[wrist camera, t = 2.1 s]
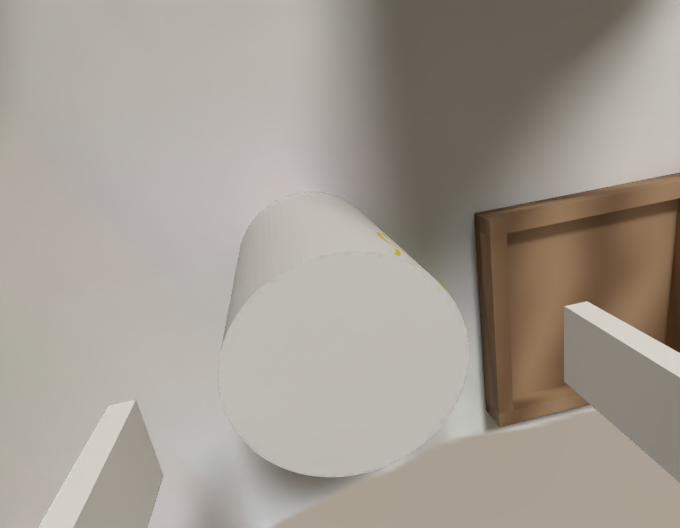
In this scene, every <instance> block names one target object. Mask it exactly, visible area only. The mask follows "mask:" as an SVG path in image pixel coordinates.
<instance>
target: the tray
mask: <svg viewBox="0 0 680 528" xmlns="http://www.w3.org/2000/svg"><path fill="white" fill-rule="evenodd" d="M475 228H476V245H477V261H478V278H479V294H480V311H481V328H482V344H483V361H484V377H485V394H486V410H487V411H488V413H489V414H490V415H491V417H492V418H493V419H494V420H495V422H496V423H497V424H498V426H499V427H501V426H505V425H509V424H512V423H516V422H520V421H524V420H528V419H532V418H536V417H540V416H544V415H548V414H552V413H556V412H560V411H564V410H568V409H572V408H576V407H580V406H584V405H588V404H589V403H588V402H587V401H586V400H585V399H584V398H582V397H581V396H580V395H579V394H578V393H577V392H576V391H574V390H573V389H572V388H571V387H570V386H569V385H568V384H566V383H565V382H564V306H567V305H572V304H577V303H581V302H586V301H588V302H589V303H591V304H593V305H595V306H597V307H598V308H600V309H602V310H604V311H605V312H607V313H609V314H611V315H613V316H614V317H616V318H618V319H620V320H622V321H623V322H625V323H627V324H629V325H631V326H632V327H634V328H636V329H638V330H640V331H641V332H643V333H645V334H647V335H648V336H650V337H652V338H654V339H656V340H657V341H659V342H661V343H663V344H665V345H666V346H668V347H670V348H672V349H674V350H675V351H677V352H679V353H680V173H677V174H672V175H666V176H661V177H656V178H651V179H646V180H641V181H636V182H631V183H626V184H621V185H616V186H611V187H606V188H601V189H596V190H591V191H586V192H581V193H576V194H571V195H566V196H561V197H556V198H551V199H545V200H540V201H535V202H530V203H525V204H520V205H515V206H510V207H505V208H500V209H495V210H490V211H485V212H480V213H475Z"/></svg>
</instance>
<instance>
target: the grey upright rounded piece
mask: <svg viewBox="0 0 680 528" xmlns="http://www.w3.org/2000/svg"><path fill="white" fill-rule="evenodd" d="M468 364H469V341H468V335H467V330H466V326H465V323H464V320H463V317H462V315H461V313H460V310H459V308H458V307H457V305H456V303H455V301H454V300H453V298H452V297H451V296H450V294H449V293H448V292H447V291H446V289H445V288H444V287H443V286H442V285H441V284H440V283H439V282H438V281H437V280H436V279H435V278H434V277H433V276H431V275H430V274H429V273H428V272H427V271H426V270H425V269H424V268H423V267H421V266H420V265H419V264H418V263H417V262H416V261H415V260H414V259H413V258H412V257H410V256H409V255H408V254H407V253H406V252H405V251H404V250H403V249H402V248H400V247H399V246H398V245H397V244H396V243H395V242H394V241H393V240H392V239H391V238H389V237H388V236H387V235H386V234H385V233H384V232H383V231H382V230H381V229H379V228H378V227H377V226H376V225H375V224H374V223H373V222H372V221H371V220H369V219H368V218H367V217H366V216H365V215H364V214H363V213H362V212H361V211H360V210H358V209H357V208H356V207H355V206H353V205H352V204H351V203H349V202H347V201H346V200H344V199H342V198H339V197H337V196H334V195H331V194H326V193H320V192H303V193H296V194H292V195H289V196H286V197H283V198H281V199H279V200H277V201H275V202H273V203H272V204H270V205H269V206H267V207H266V208H265V209H264V210H262V211H261V212H260V213H259V214H258V215H257V216H256V217H255V219H254V220H253V221H252V223H251V224H250V226H249V227H248V229H247V231H246V233H245V235H244V237H243V240H242V243H241V247H240V252H239V257H238V263H237V268H236V273H235V278H234V284H233V289H232V294H231V300H230V305H229V310H228V316H227V321H226V326H225V332H224V337H223V342H222V348H221V353H220V358H219V366H218V385H219V393H220V398H221V402H222V405H223V408H224V411H225V413H226V416H227V418H228V420H229V422H230V423H231V425H232V427H233V428H234V430H235V431H236V433H237V434H238V435H239V437H240V438H241V439H242V440H243V441H244V442H245V443H246V444H247V445H248V446H249V447H250V448H251V449H252V450H253V451H254V452H256V453H257V454H258V455H260V456H261V457H263V458H264V459H266V460H267V461H269V462H271V463H273V464H275V465H277V466H279V467H281V468H284V469H286V470H289V471H292V472H295V473H299V474H304V475H309V476H316V477H346V476H354V475H359V474H364V473H368V472H371V471H374V470H378V469H380V468H383V467H386V466H388V465H390V464H392V463H395V462H397V461H398V460H400V459H402V458H404V457H406V456H407V455H409V454H410V453H412V452H413V451H415V450H416V449H418V448H419V447H420V446H421V445H423V444H424V443H425V442H426V441H427V440H428V439H430V438H431V437H432V436H433V435H434V434H435V433H436V432H437V430H438V429H439V428H440V427H441V426H442V425H443V423H444V422H445V421H446V419H447V418H448V417H449V415H450V414H451V412H452V410H453V409H454V407H455V405H456V403H457V401H458V399H459V397H460V395H461V392H462V390H463V387H464V384H465V380H466V376H467V371H468Z"/></svg>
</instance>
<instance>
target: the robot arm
mask: <svg viewBox="0 0 680 528" xmlns="http://www.w3.org/2000/svg"><path fill="white" fill-rule="evenodd" d="M564 382H565V383H566V384H568V385H569V386H570V387H571V388H572V389H573V390H574V391H576V392H577V393H578V394H579V395H580V396H581V397H582V398H584V399H585V400H586V401H587V402H588V403H589V404H590V405H592V406H593V407H594V408H595V409H596V410H597V411H598V412H600V413H601V414H602V415H603V416H604V417H605V418H607V419H608V420H609V421H610V422H611V423H612V424H613V425H614V426H616V427H617V428H618V429H619V430H620V431H621V432H623V433H624V434H625V435H626V436H627V437H628V438H629V439H630V440H632V441H633V442H634V443H635V444H636V445H637V446H639V447H640V448H641V449H642V450H643V451H644V452H645V453H646V454H648V455H649V456H650V457H651V458H652V459H653V460H654V461H656V462H657V463H658V464H659V465H660V466H661V467H662V468H664V469H665V470H666V471H667V472H668V473H669V474H670V475H672V476H673V477H674V478H675V479H676V480H677V481H678V482H680V353H679V352H677V351H675V350H674V349H672V348H670V347H668V346H666V345H665V344H663V343H661V342H659V341H657V340H656V339H654V338H652V337H650V336H648V335H647V334H645V333H643V332H641V331H640V330H638V329H636V328H634V327H632V326H631V325H629V324H627V323H625V322H623V321H622V320H620V319H618V318H616V317H614V316H613V315H611V314H609V313H607V312H605V311H604V310H602V309H600V308H598V307H597V306H595V305H593V304H591V303H589V302H588V301H586V302H581V303H577V304H572V305H567V306H564ZM162 478H163V473H162V470H161V468H160V465H159V462H158V459H157V456H156V454H155V451H154V448H153V445H152V443H151V440H150V437H149V434H148V432H147V429H146V426H145V423H144V420H143V418H142V415H141V412H140V409H139V407H138V404H137V401H136V400H132V401H128V402H123V403H119V404H114V405H110V406H108V407H107V409H106V411H105V413H104V414H103V416H102V418H101V420H100V421H99V423H98V425H97V426H96V428H95V430H94V432H93V433H92V435H91V437H90V439H89V440H88V442H87V444H86V445H85V447H84V449H83V451H82V452H81V454H80V456H79V458H78V459H77V461H76V463H75V465H74V466H73V468H72V470H71V471H70V473H69V475H68V477H67V478H66V480H65V482H64V484H63V485H62V487H61V489H60V490H59V492H58V494H57V496H56V497H55V499H54V501H53V503H52V504H51V506H50V508H49V509H48V511H47V513H46V515H45V516H44V518H43V520H42V522H41V523H40V525H39V527H38V528H147V527H148V524H149V521H150V517H151V514H152V511H153V508H154V504H155V501H156V498H157V495H158V491H159V488H160V485H161V482H162Z"/></svg>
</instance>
